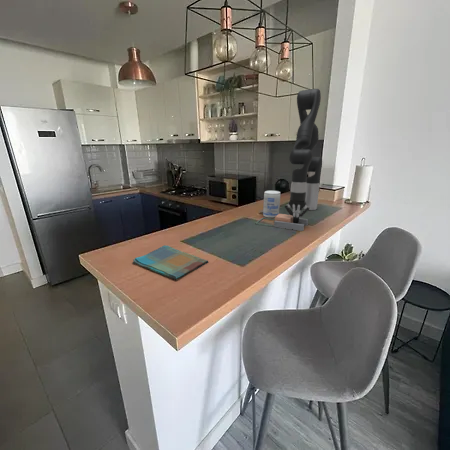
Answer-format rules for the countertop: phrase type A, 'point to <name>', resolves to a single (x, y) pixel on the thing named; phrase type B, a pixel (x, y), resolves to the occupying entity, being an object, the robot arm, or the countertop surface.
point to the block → (284, 218)
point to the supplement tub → (271, 204)
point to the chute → (292, 224)
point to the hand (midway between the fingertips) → (295, 223)
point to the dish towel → (170, 262)
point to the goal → (264, 224)
